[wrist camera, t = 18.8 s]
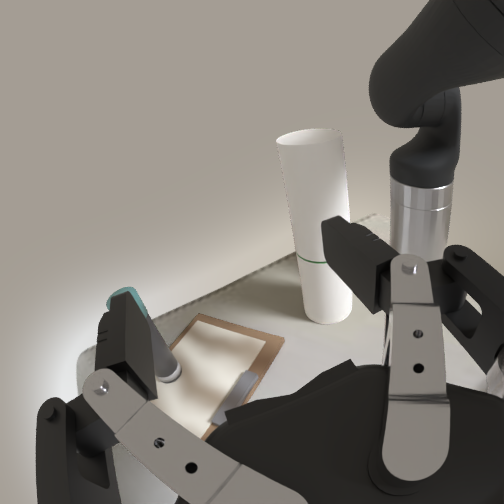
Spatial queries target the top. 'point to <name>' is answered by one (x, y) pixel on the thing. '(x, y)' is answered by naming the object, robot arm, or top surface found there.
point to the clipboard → (214, 372)
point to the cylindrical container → (316, 215)
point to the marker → (156, 345)
